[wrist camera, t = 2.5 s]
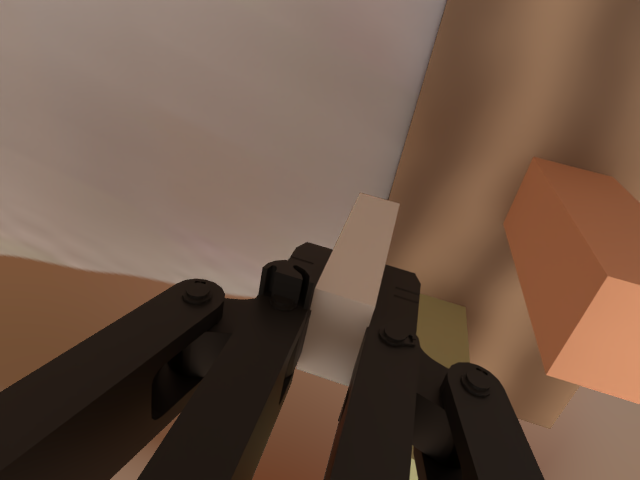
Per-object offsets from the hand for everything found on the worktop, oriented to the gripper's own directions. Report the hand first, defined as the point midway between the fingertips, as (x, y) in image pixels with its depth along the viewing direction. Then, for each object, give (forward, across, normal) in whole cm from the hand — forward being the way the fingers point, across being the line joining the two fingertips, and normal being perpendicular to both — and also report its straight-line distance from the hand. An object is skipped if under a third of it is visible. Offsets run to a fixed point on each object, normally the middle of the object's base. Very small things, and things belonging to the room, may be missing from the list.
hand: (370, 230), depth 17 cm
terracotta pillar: (+9, +9, 0) cm, 13 cm away
